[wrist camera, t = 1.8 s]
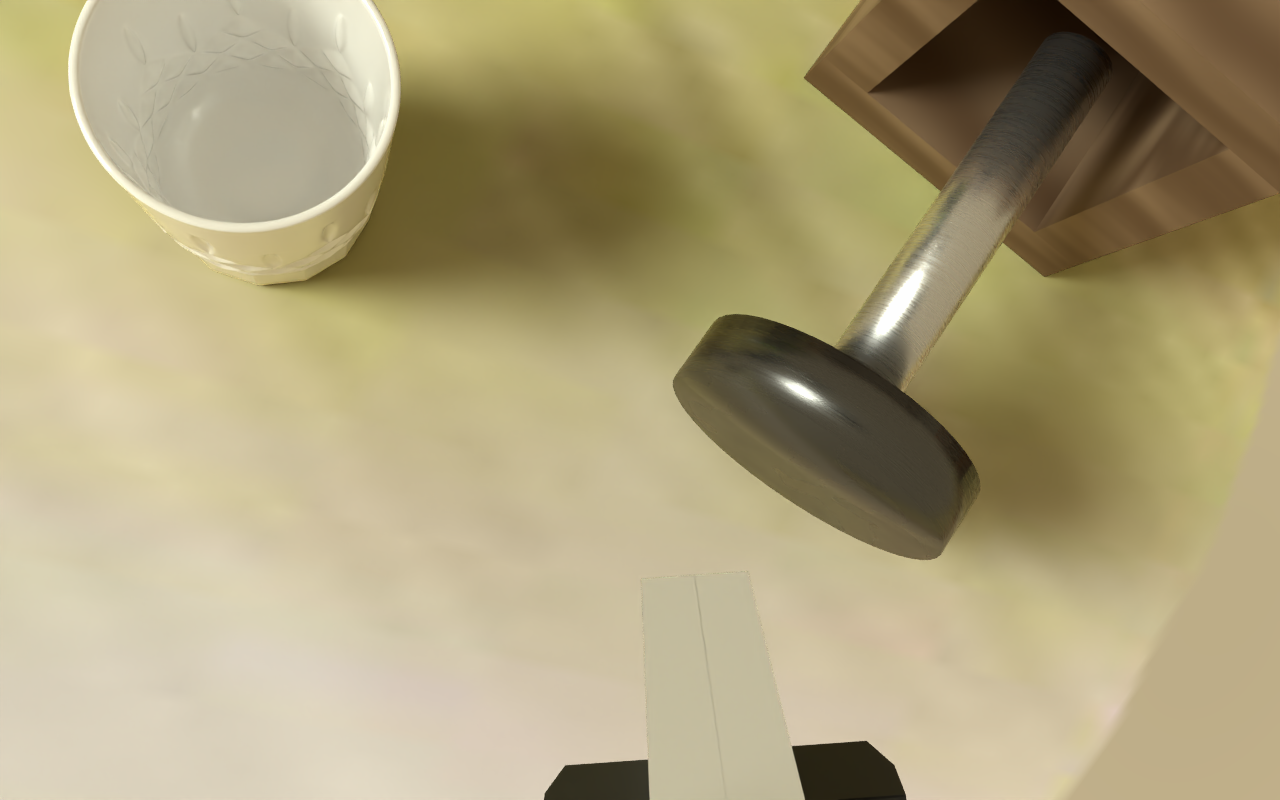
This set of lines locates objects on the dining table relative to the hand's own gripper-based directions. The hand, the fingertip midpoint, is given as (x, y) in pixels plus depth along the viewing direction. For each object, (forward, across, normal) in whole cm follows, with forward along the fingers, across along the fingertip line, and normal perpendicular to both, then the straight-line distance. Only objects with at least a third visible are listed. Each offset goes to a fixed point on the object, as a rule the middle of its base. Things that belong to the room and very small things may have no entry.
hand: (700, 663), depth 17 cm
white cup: (+25, -12, +5) cm, 28 cm away
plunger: (+24, +8, 0) cm, 26 cm away
